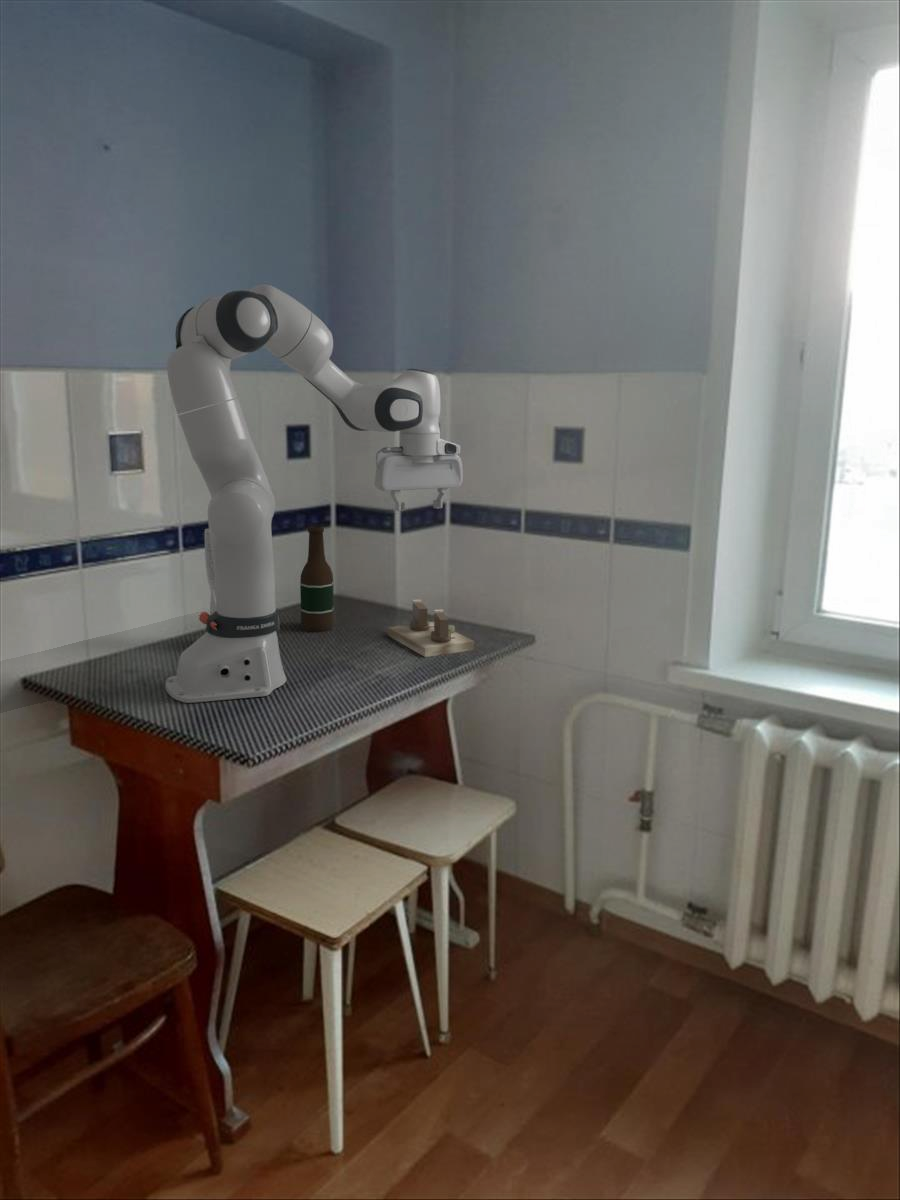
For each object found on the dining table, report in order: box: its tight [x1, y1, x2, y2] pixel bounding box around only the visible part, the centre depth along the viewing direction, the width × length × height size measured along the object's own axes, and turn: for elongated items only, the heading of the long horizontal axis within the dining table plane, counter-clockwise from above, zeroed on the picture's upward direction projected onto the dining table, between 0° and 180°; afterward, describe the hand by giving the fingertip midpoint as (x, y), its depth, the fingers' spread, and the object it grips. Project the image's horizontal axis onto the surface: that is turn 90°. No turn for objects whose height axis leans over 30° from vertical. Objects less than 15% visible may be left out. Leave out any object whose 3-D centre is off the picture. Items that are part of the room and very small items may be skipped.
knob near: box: [431, 609, 451, 642], centre depth 202 cm, size 7×4×6 cm, turn 12°
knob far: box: [409, 599, 430, 631], centre depth 210 cm, size 7×4×6 cm, turn 15°
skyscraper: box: [204, 528, 216, 616], centre depth 199 cm, size 8×8×28 cm
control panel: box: [387, 620, 475, 658], centre depth 207 cm, size 12×18×4 cm
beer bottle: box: [299, 525, 335, 633], centre depth 214 cm, size 8×8×24 cm
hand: (419, 509), depth 205 cm, fingers open, 8 cm apart
